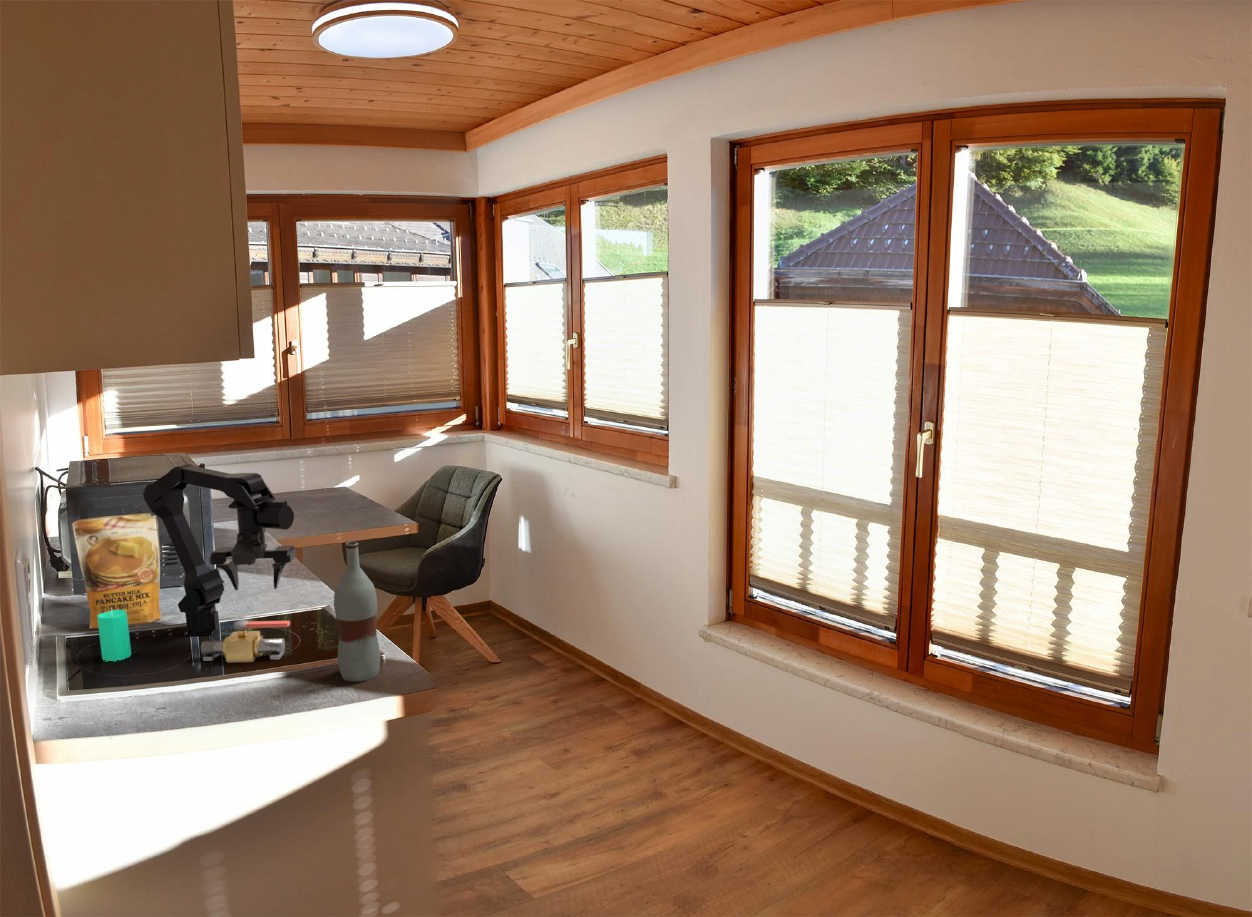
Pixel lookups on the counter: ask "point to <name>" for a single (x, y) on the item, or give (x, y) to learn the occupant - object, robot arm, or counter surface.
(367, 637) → the vodka
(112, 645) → the candle
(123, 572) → the pancake mix bag
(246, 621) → the lever
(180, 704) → the counter surface
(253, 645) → the valve
